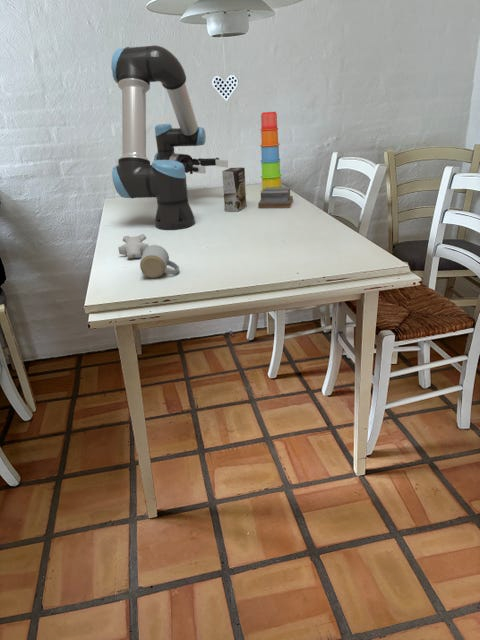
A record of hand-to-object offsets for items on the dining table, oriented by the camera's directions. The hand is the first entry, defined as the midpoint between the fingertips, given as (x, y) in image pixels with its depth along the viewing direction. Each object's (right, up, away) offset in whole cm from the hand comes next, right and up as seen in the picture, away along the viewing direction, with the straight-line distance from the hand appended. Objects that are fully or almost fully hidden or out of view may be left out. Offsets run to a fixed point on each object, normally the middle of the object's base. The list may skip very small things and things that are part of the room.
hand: (216, 166), depth 199 cm
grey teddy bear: (-24, -42, -43) cm, 65 cm away
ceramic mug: (-13, -51, -61) cm, 80 cm away
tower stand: (+25, -15, +4) cm, 29 cm away
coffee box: (+8, -17, +1) cm, 19 cm away
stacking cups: (+25, -4, +26) cm, 36 cm away
